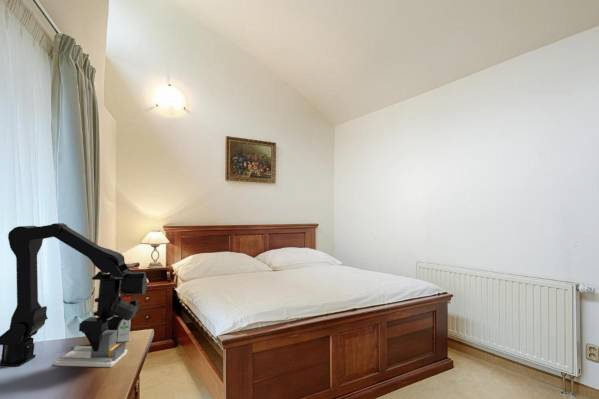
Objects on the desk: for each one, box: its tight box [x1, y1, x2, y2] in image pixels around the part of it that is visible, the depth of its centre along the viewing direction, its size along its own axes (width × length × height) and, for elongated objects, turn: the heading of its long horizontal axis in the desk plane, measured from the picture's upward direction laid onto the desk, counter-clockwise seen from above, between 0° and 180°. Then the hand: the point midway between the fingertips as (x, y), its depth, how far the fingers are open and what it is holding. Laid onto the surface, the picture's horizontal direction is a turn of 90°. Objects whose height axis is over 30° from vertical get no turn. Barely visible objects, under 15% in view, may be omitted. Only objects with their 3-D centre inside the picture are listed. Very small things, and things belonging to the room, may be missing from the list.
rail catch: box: [108, 344, 119, 357], centre depth 99 cm, size 1×4×2 cm, turn 3°
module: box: [91, 330, 117, 357], centre depth 99 cm, size 5×4×7 cm
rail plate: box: [54, 341, 128, 368], centre depth 99 cm, size 16×10×4 cm, turn 94°
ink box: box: [107, 296, 132, 344], centre depth 113 cm, size 4×8×15 cm, turn 123°
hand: (104, 345), depth 99 cm, fingers open, 9 cm apart
